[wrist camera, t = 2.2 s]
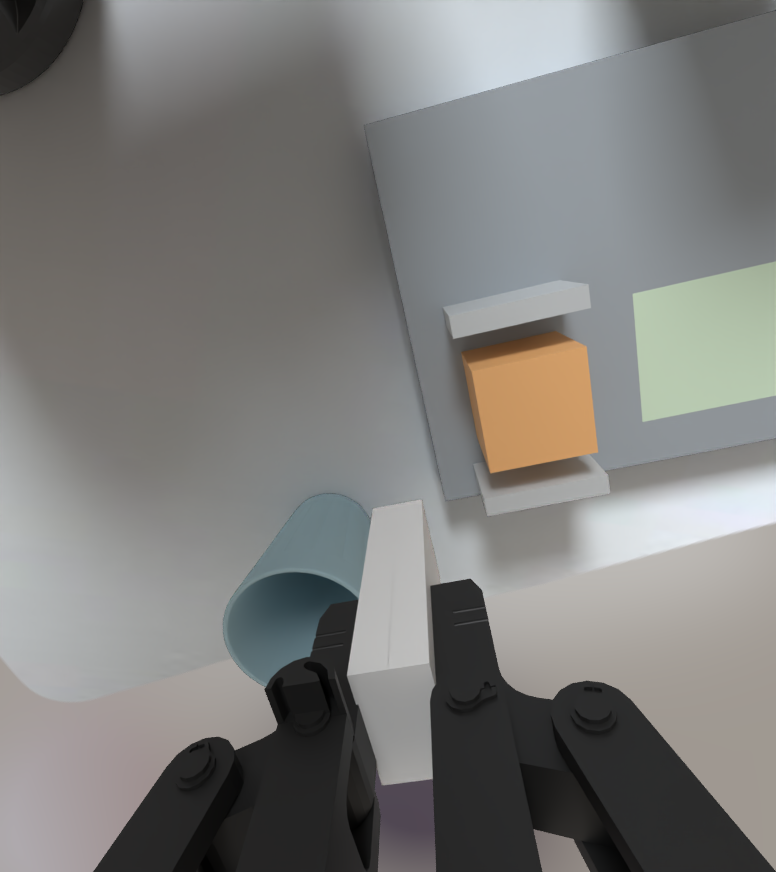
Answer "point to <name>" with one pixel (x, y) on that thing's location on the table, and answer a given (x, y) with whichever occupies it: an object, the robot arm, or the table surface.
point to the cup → (297, 585)
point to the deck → (597, 250)
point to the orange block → (531, 400)
